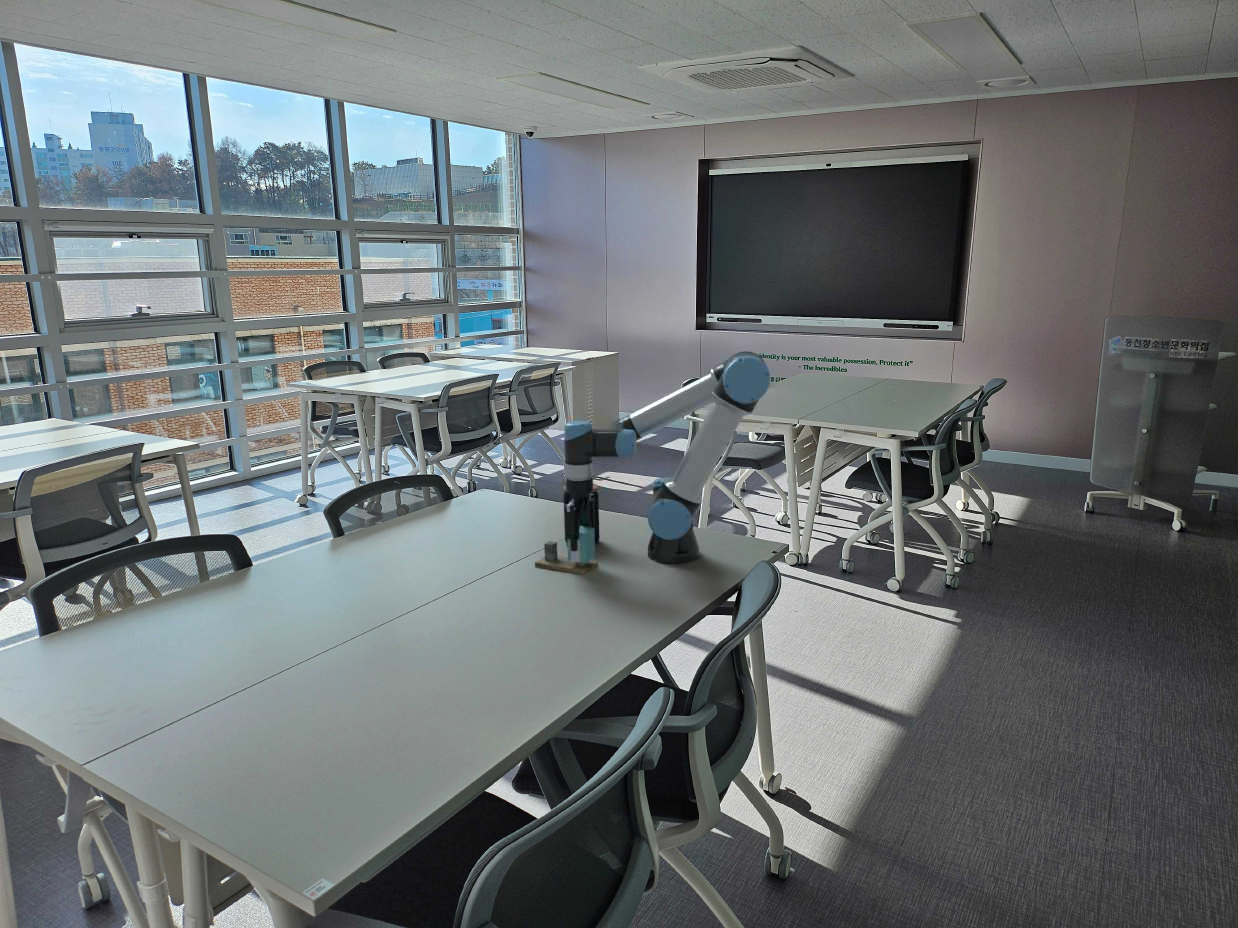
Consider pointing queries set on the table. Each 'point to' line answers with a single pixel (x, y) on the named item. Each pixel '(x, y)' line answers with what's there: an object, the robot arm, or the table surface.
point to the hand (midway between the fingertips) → (581, 557)
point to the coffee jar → (595, 488)
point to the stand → (563, 561)
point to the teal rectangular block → (585, 544)
